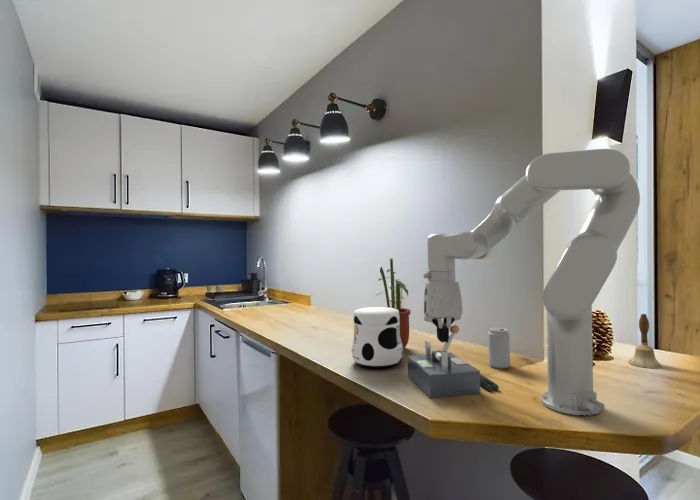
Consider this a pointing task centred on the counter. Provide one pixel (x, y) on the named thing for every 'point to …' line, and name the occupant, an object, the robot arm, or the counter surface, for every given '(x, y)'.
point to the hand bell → (644, 348)
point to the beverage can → (498, 348)
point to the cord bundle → (488, 383)
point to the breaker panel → (443, 374)
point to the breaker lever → (453, 331)
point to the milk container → (377, 337)
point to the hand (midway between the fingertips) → (443, 341)
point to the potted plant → (397, 303)
